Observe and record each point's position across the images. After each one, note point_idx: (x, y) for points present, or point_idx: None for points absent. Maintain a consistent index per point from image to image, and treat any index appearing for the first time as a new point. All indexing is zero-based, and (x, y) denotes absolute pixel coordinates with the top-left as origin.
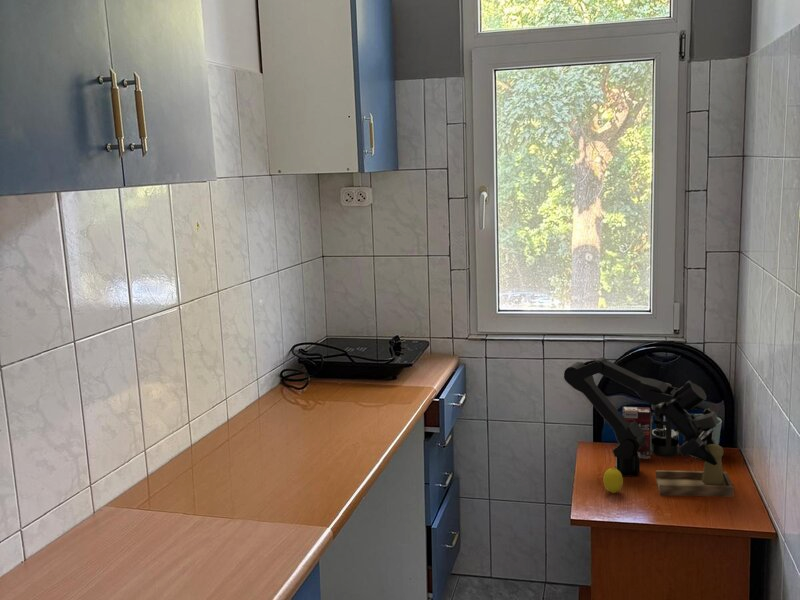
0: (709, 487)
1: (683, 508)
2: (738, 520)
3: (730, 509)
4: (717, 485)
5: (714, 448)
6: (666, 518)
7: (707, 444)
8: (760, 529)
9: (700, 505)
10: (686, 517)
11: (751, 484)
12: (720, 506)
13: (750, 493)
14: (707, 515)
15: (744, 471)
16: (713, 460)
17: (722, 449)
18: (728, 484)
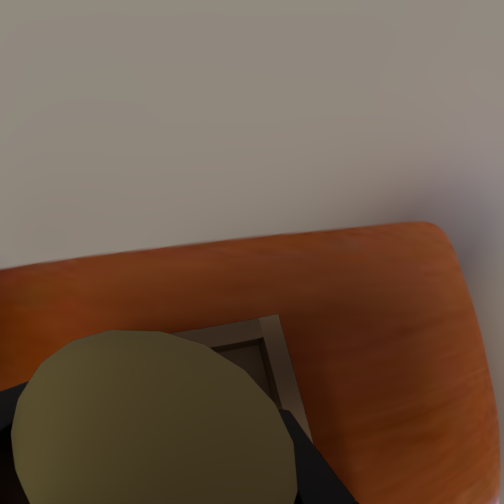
0: (309, 436)
1: (425, 482)
2: (438, 299)
3: (383, 332)
4: (282, 399)
5: (244, 482)
6: (482, 485)
7: (1, 501)
8: (448, 242)
9: (390, 442)
10: (471, 446)
11: (117, 254)
12: (374, 371)
13: (206, 261)
14: (447, 396)
15: (15, 273)
16: (309, 447)
17: (156, 336)
18: (238, 342)
